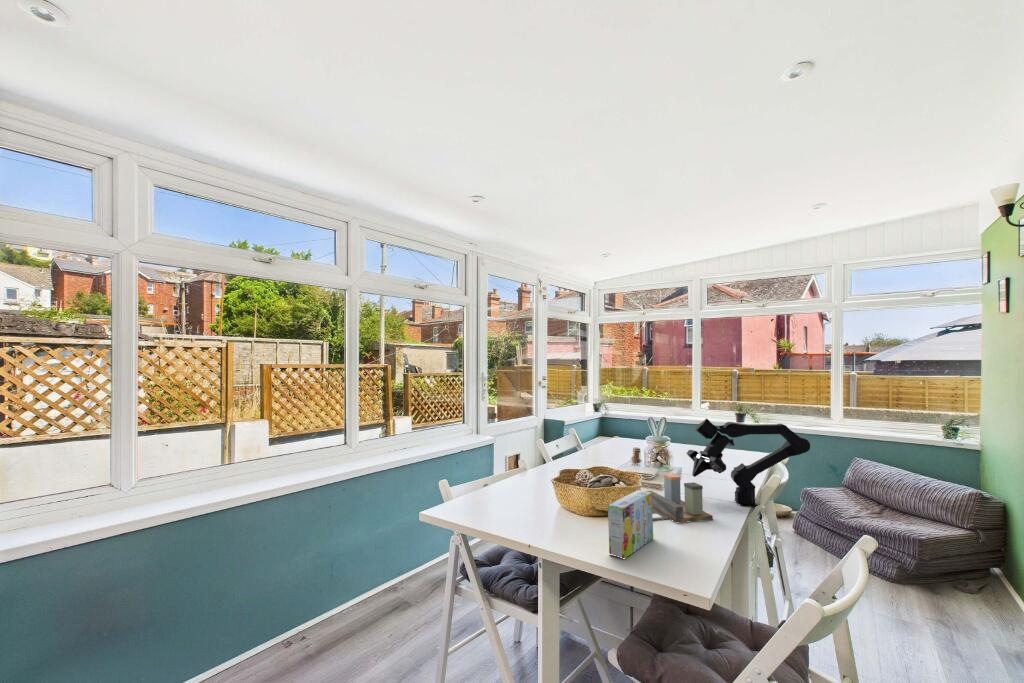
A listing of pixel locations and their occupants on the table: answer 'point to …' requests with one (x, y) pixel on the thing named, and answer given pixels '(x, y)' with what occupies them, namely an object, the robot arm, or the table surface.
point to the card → (658, 515)
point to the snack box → (630, 523)
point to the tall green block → (693, 498)
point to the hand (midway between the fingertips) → (693, 475)
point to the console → (675, 509)
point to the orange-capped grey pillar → (672, 487)
